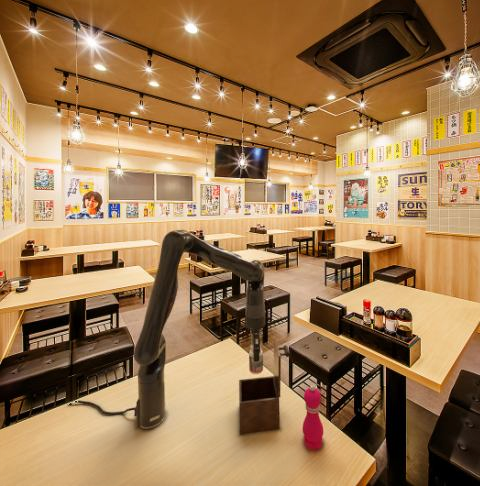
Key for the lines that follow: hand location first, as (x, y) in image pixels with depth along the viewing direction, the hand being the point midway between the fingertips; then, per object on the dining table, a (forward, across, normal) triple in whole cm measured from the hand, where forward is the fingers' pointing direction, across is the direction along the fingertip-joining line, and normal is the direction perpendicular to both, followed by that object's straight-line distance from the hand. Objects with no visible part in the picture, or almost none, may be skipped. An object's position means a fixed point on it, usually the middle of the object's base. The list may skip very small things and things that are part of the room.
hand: (255, 356), depth 99 cm
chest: (+24, 0, +1) cm, 24 cm away
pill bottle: (+6, 0, 0) cm, 6 cm away
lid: (+5, 0, +8) cm, 9 cm away
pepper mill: (+25, +13, +19) cm, 34 cm away
